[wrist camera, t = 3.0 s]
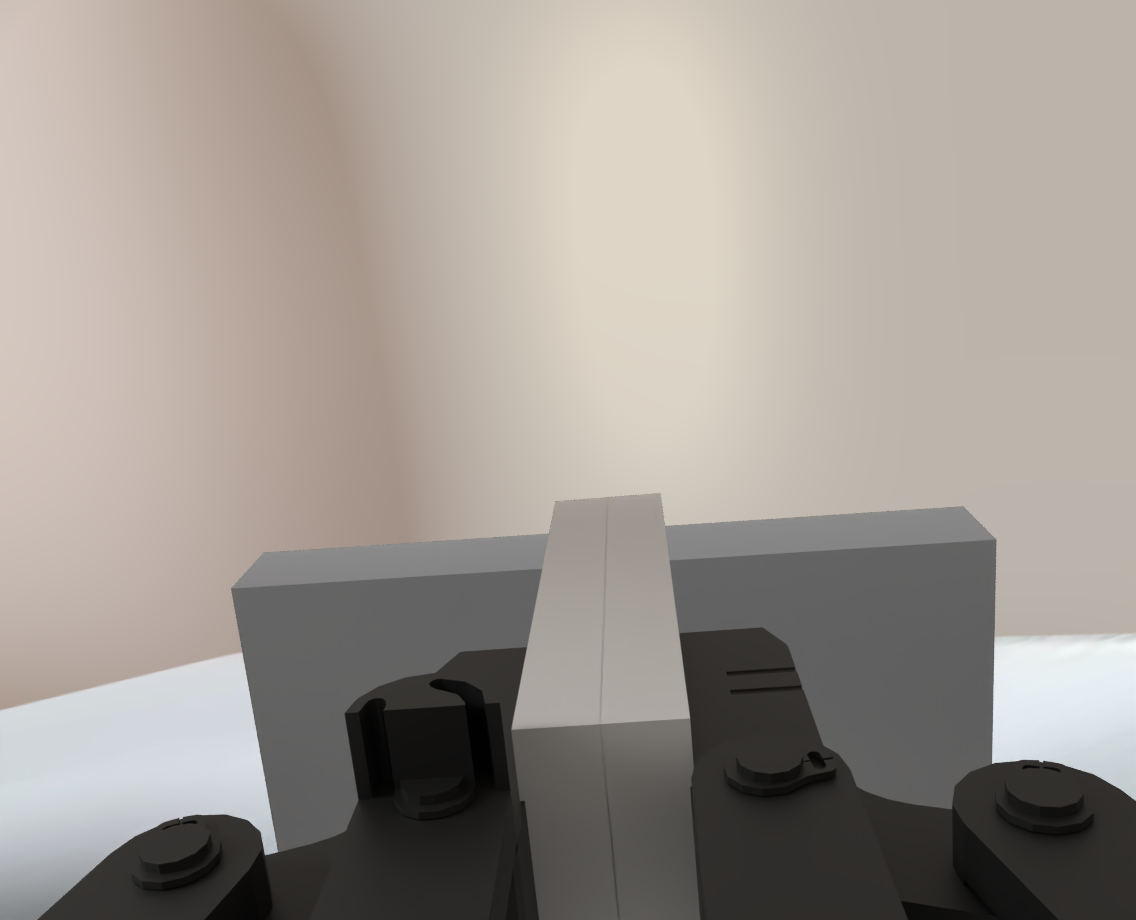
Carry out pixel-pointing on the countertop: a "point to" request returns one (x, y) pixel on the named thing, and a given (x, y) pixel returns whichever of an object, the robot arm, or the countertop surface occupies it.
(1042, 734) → the countertop surface
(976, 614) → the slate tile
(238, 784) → the countertop surface
